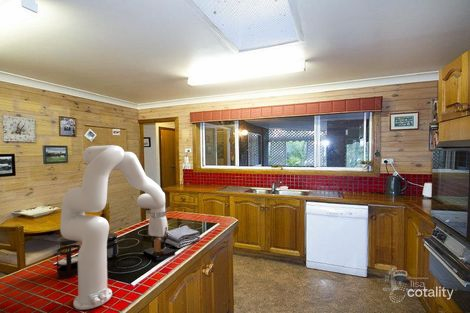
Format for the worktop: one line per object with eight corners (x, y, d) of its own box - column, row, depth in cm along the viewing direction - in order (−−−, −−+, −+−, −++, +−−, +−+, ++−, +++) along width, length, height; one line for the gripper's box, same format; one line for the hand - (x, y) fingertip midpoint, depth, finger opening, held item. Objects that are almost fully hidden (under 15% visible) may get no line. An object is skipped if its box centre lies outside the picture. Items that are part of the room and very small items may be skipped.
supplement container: (116, 252, 135) (116, 231, 135) (119, 258, 127) (119, 236, 127) (95, 257, 130) (94, 235, 130) (97, 264, 121) (96, 240, 121)
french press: (54, 281, 104) (53, 229, 104) (55, 273, 112) (54, 224, 112) (85, 274, 111) (84, 224, 111) (84, 266, 119) (84, 220, 119)
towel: (163, 243, 147) (162, 231, 147) (186, 235, 162) (186, 224, 162) (178, 249, 138) (178, 236, 138) (201, 240, 152) (201, 228, 152)
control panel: (174, 255, 130) (174, 250, 130) (156, 262, 122) (156, 256, 122) (161, 248, 140) (161, 244, 140) (143, 254, 132) (143, 249, 132)
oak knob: (165, 250, 131) (165, 238, 131) (157, 252, 127) (156, 241, 127) (160, 247, 134) (160, 236, 134) (152, 250, 131) (152, 239, 131)
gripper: (141, 214, 131) (141, 248, 131) (166, 217, 124) (167, 252, 124) (150, 211, 138) (151, 243, 138) (175, 214, 131) (175, 247, 131)
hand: (158, 247), depth 131 cm, fingers closed on oak knob, 5 cm apart
